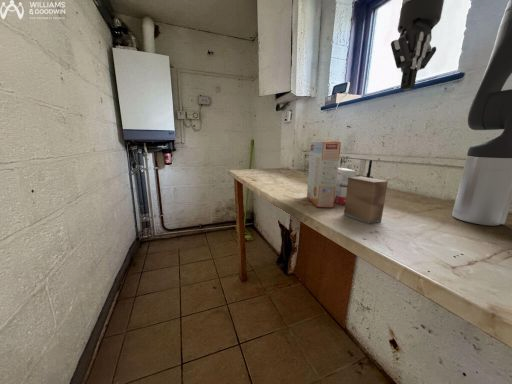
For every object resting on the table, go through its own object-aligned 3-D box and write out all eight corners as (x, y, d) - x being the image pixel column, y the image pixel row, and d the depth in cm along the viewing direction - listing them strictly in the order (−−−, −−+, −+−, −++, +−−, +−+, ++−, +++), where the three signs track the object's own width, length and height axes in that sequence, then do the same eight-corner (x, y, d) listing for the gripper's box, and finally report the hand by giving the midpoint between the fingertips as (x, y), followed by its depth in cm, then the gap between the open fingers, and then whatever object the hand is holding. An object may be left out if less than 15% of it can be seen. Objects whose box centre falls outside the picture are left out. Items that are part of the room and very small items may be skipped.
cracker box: (335, 208, 65) (342, 141, 60) (316, 208, 65) (321, 141, 60) (321, 197, 79) (326, 141, 74) (306, 196, 79) (310, 141, 74)
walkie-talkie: (359, 200, 75) (365, 159, 71) (369, 201, 73) (376, 159, 70) (359, 203, 70) (365, 160, 67) (370, 205, 69) (377, 160, 65)
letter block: (356, 212, 62) (361, 176, 59) (381, 221, 54) (387, 181, 52) (343, 214, 60) (348, 177, 57) (368, 224, 52) (374, 182, 50)
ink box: (353, 205, 69) (357, 170, 66) (338, 204, 69) (342, 170, 66) (343, 198, 77) (346, 167, 74) (330, 198, 77) (333, 167, 75)
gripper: (420, 19, 50) (407, 95, 54) (384, 3, 44) (372, 89, 48) (460, -1, 43) (442, 89, 47) (423, -21, 38) (405, 81, 42)
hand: (406, 89), depth 48 cm, fingers closed
